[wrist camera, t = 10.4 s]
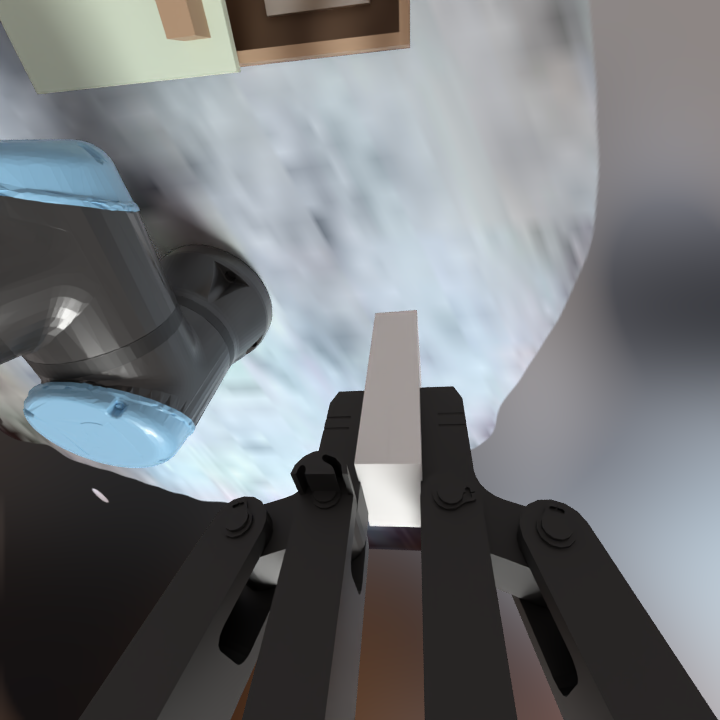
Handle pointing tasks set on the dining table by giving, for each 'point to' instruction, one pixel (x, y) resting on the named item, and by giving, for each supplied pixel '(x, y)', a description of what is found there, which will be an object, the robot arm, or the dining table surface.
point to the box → (316, 28)
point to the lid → (118, 41)
